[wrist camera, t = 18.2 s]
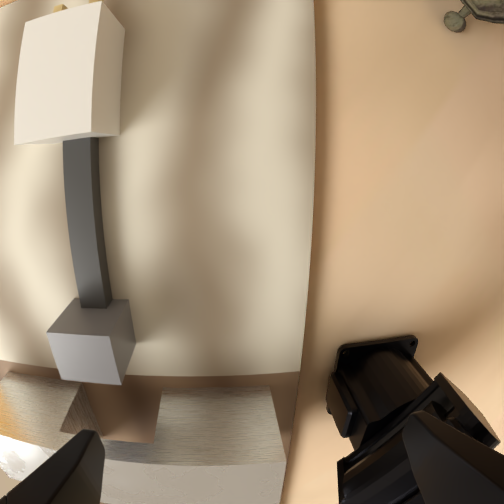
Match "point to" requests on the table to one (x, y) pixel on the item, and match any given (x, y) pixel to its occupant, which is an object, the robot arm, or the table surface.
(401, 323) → the table surface
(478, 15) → the tabletop clock
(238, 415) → the motor housing
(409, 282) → the table surface
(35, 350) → the base board
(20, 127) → the plug
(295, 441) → the table surface
